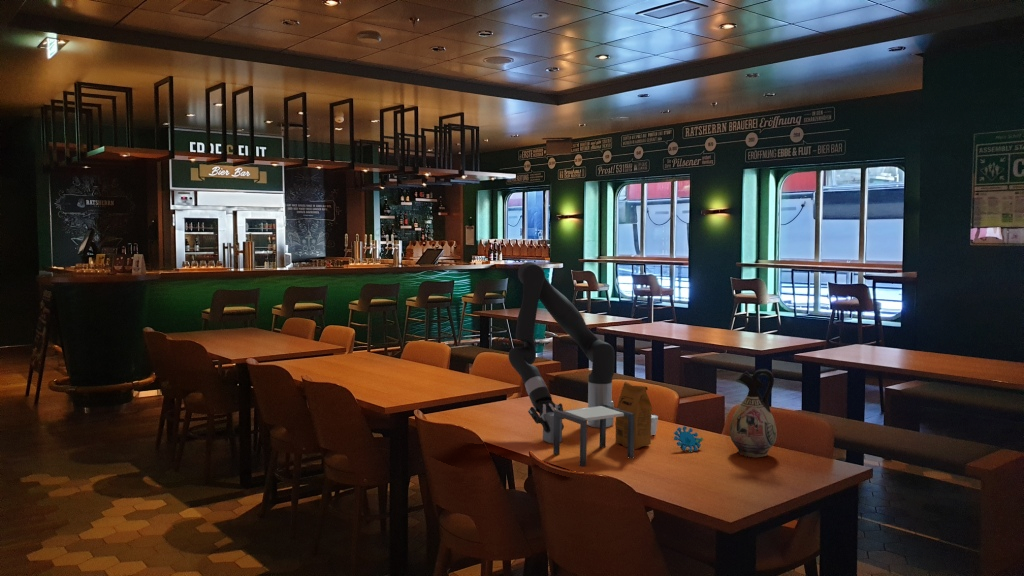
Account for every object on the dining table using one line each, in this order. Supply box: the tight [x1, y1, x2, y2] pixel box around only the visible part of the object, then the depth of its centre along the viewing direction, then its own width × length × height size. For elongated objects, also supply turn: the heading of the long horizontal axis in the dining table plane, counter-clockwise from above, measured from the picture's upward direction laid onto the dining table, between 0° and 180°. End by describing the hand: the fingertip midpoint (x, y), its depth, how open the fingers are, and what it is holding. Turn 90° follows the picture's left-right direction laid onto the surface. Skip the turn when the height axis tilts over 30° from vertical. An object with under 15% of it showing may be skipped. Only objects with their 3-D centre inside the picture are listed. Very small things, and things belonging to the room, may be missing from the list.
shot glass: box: [651, 413, 659, 436], centre depth 290 cm, size 7×7×7 cm
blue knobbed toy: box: [673, 426, 704, 452], centre depth 270 cm, size 11×6×10 cm
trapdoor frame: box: [552, 404, 635, 467], centre depth 260 cm, size 21×17×15 cm
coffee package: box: [614, 381, 653, 450], centre depth 274 cm, size 10×12×22 cm
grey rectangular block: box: [542, 412, 563, 444], centre depth 278 cm, size 5×5×10 cm
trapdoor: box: [563, 406, 624, 422], centre depth 260 cm, size 16×13×1 cm
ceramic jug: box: [729, 368, 778, 458], centre depth 263 cm, size 17×15×30 cm
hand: (555, 430), depth 276 cm, fingers closed on grey rectangular block, 5 cm apart
